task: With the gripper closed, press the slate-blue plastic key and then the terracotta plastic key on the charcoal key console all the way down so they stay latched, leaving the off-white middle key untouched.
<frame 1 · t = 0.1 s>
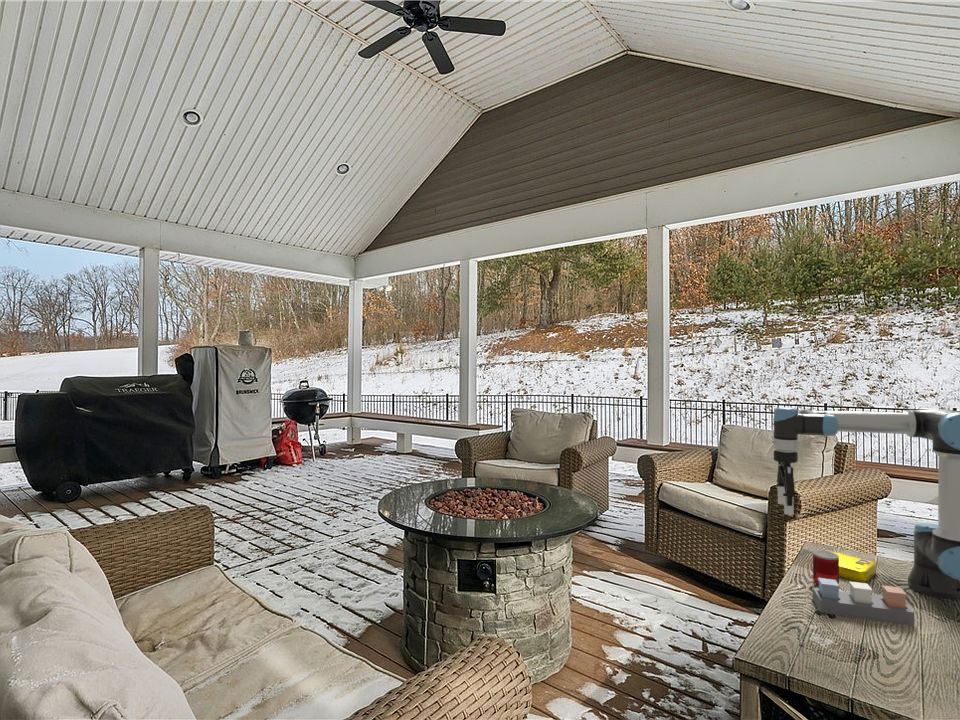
hand: (785, 509, 191), 28 cm above the table, tool pointing down, fingers open, 13 cm apart
element tile: (847, 572, 204), on the table
key console: (860, 611, 172), on the table
slate blue key: (828, 589, 175), point 6 cm above the table, slide at 0.0 cm
terracotta key: (894, 597, 169), point 6 cm above the table, slide at 0.0 cm
canned food: (825, 584, 193), on the table
white key: (860, 593, 172), point 6 cm above the table, slide at 0.0 cm
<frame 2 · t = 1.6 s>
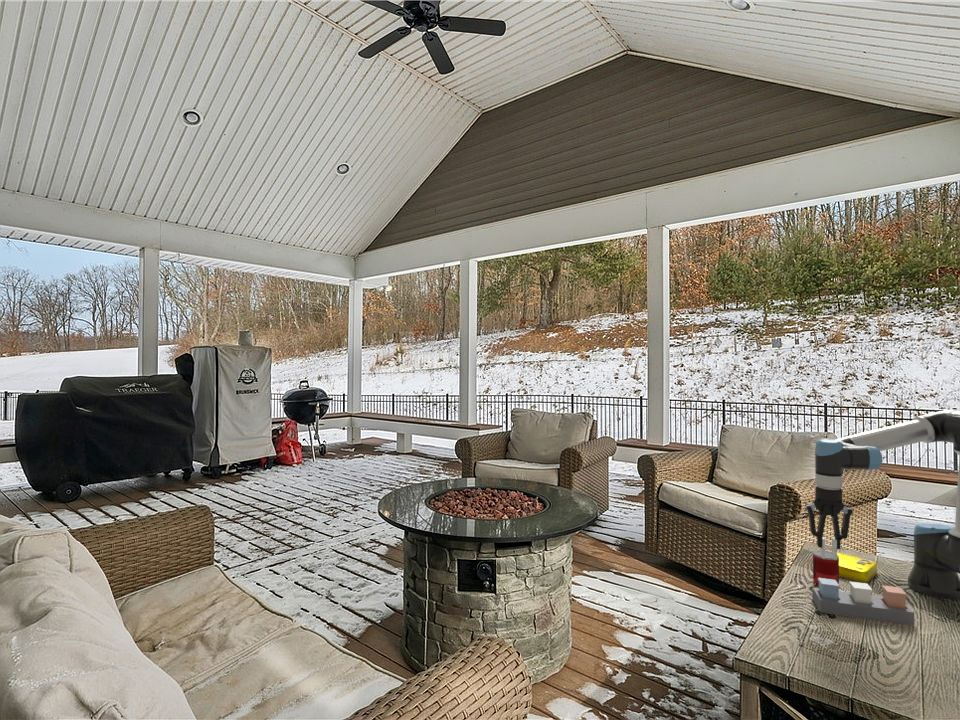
hand: (828, 557, 175), 17 cm above the table, tool pointing down, fingers open, 3 cm apart
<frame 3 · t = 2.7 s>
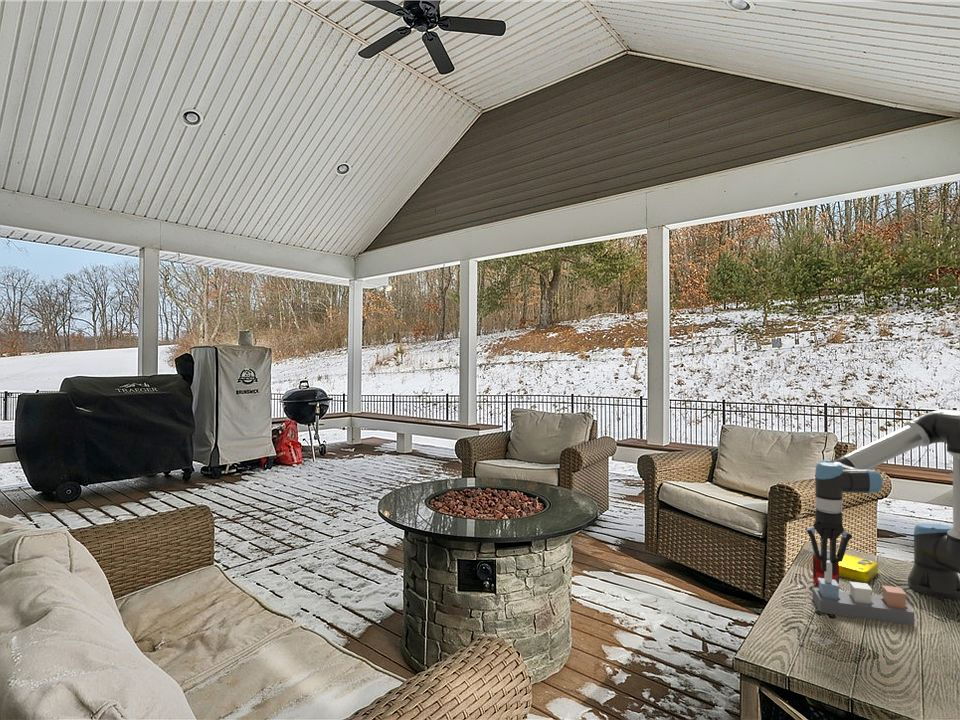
hand: (828, 581, 175), 9 cm above the table, tool pointing down, fingers closed
slate blue key: (828, 589, 175), point 6 cm above the table, slide at 0.0 cm, touching gripper
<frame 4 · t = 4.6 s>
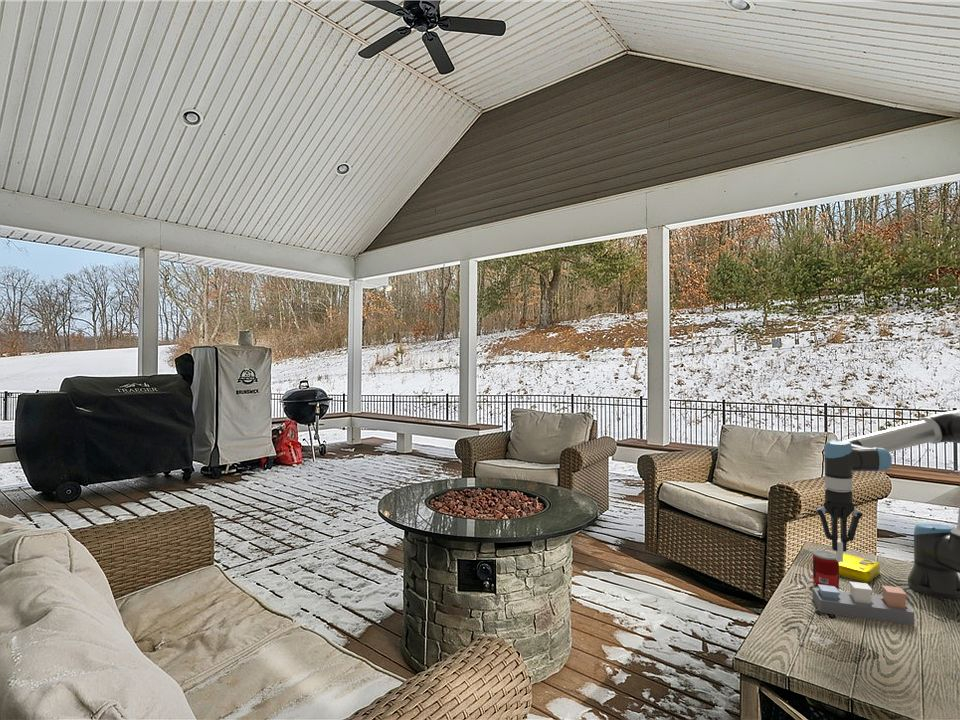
hand: (839, 560, 174), 16 cm above the table, tool pointing down, fingers closed
slate blue key: (828, 595, 175), point 4 cm above the table, slide at 2.2 cm
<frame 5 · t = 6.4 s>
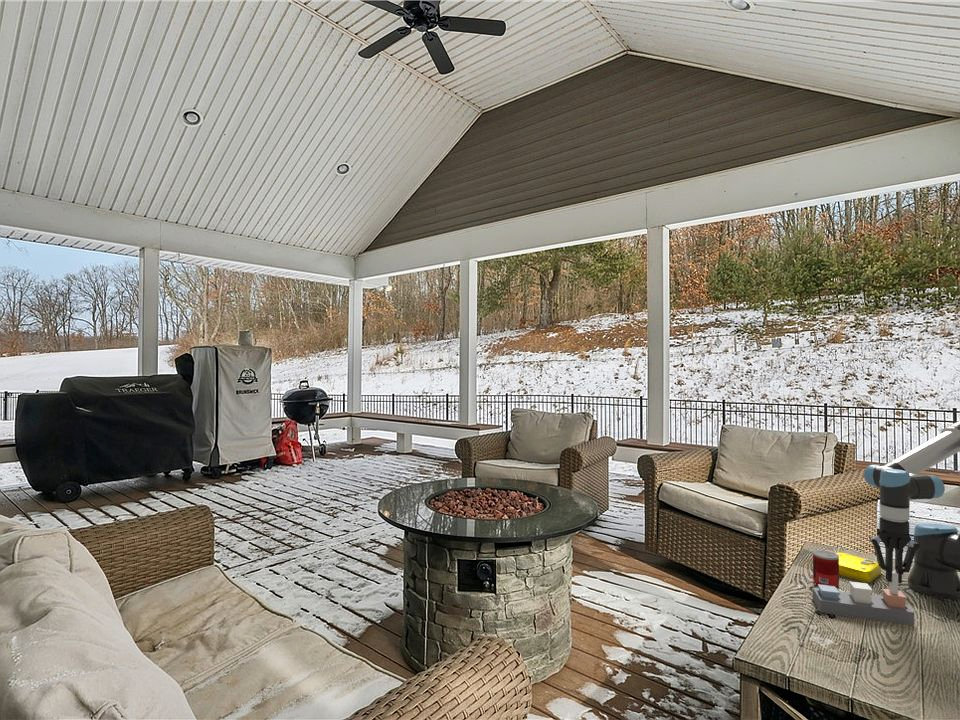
hand: (893, 592, 169), 8 cm above the table, tool pointing down, fingers closed
terracotta key: (894, 600, 169), point 5 cm above the table, slide at 1.1 cm, touching gripper
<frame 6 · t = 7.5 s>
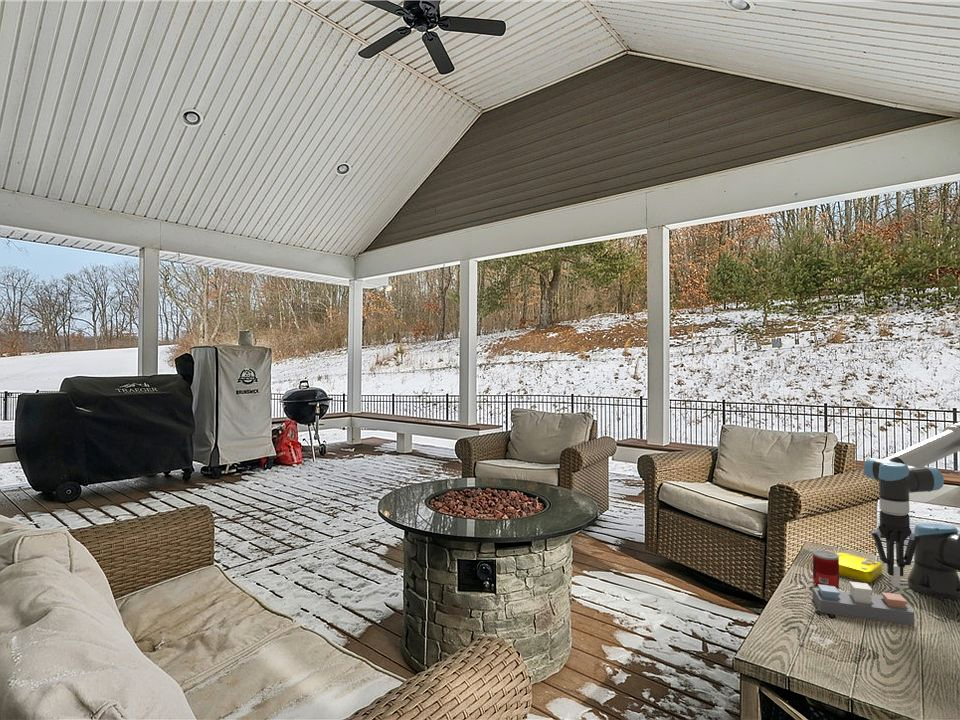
hand: (895, 585, 169), 10 cm above the table, tool pointing down, fingers closed
terracotta key: (894, 604, 169), point 4 cm above the table, slide at 2.3 cm
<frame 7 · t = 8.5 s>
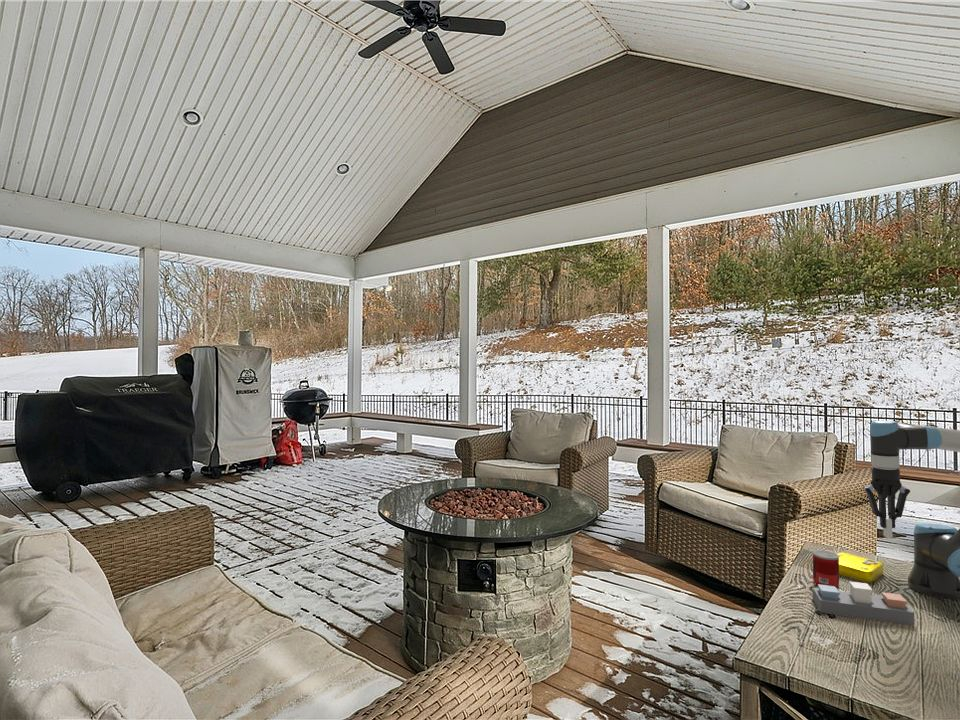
hand: (888, 537, 178), 22 cm above the table, tool pointing down, fingers closed
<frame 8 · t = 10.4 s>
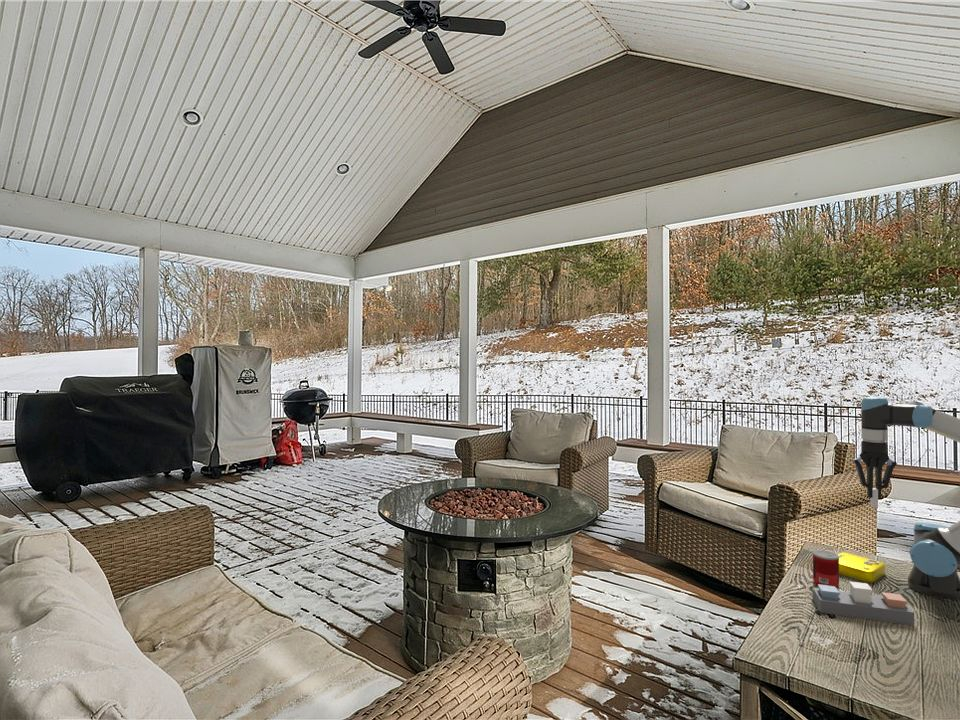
hand: (874, 506, 188), 29 cm above the table, tool pointing down, fingers closed
at the end: slate blue key slide at 2.2 cm; terracotta key slide at 2.3 cm; white key slide at 0.0 cm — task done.
